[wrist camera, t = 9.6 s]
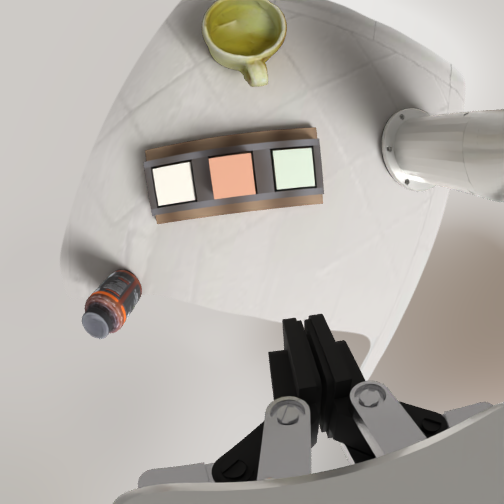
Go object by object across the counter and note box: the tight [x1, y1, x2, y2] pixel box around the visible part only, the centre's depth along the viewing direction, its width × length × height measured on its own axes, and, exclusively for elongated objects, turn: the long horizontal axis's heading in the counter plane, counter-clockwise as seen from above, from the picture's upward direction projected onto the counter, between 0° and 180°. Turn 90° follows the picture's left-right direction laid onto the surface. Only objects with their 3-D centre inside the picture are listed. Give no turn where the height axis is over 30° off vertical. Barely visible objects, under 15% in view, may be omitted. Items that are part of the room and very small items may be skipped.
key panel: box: [143, 128, 324, 224], centre depth 33 cm, size 22×10×4 cm, turn 97°
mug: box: [202, 0, 287, 87], centre depth 26 cm, size 12×10×10 cm
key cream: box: [153, 162, 197, 206], centre depth 33 cm, size 5×5×2 cm
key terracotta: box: [209, 153, 256, 199], centre depth 31 cm, size 5×5×2 cm
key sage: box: [271, 148, 315, 189], centre depth 33 cm, size 5×5×2 cm
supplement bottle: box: [82, 270, 142, 339], centre depth 35 cm, size 6×6×11 cm
